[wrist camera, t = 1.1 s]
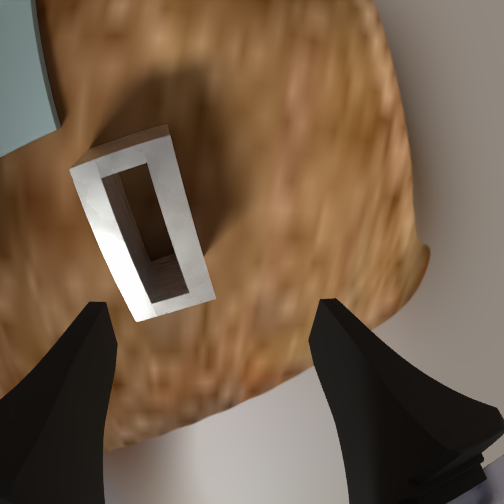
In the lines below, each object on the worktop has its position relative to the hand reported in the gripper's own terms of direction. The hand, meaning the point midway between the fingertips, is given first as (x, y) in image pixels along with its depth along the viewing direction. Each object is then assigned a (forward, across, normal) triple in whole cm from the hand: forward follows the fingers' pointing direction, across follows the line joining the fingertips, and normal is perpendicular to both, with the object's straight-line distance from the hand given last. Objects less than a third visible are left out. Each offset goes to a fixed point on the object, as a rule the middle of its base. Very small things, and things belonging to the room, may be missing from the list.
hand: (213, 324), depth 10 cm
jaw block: (+12, +4, +1) cm, 13 cm away
